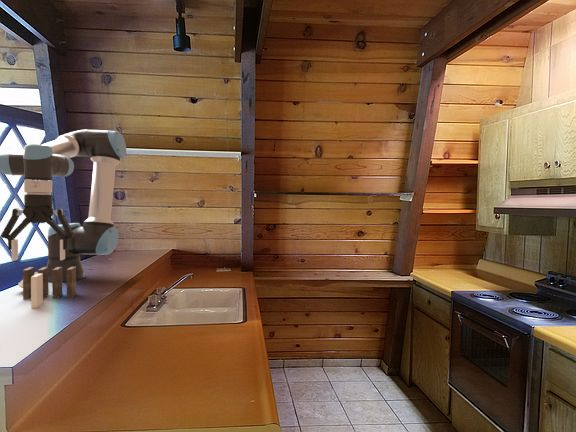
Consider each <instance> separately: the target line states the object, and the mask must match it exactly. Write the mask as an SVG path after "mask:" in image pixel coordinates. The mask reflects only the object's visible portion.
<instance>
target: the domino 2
mask: <svg viewBox="0 0 576 432" xmlns="http://www.w3.org/2000/svg"><path fill="white" fill-rule="evenodd" d="M42 303H43V304H44V298H43V273H40V274H35V275H34V276H32V277H31V298H30V308H32V309H34V308H35V309H36V308H39V307H40V306H42V305H43V304H42Z"/></svg>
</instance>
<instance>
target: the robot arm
mask: <svg viewBox="0 0 576 432" xmlns="http://www.w3.org/2000/svg"><path fill="white" fill-rule="evenodd" d="M126 155H127V143H126V141H125V137H124V136H123V134H122V133H121V132H119V131H117V130H109V129H108V130H107V129H104V130H103V129H101V130H100V129H80V130H75V131H70V132H68V133H64V134H62V135H59V136H58V137H57V138H56V139H55V140H52V141H48V142H45V143H43V144H32V143H30V144H26V145H24V149H23V150H21V151H17V152H10V151H9V152H2V153H0V172H1V174H3V175H12V176H24V177H23V179H24V180H23V182H24V183H23V184H24V185H23V186H24V187H23V188H24V189H23V190H24V193H25V194H24V195H23V196H24V198H23V199H24V203H23V205H24V208H23V209H22V208H18V207H17V208H13V209H12V212H11V217H10V218H9V219H8V222H7V224H6V226H5V227H4V229H3V230H2V233H1V234H0V237H1V238H2V239H6V240H7V249H8V250H9V251H11V261H12V262H14V261H17V260H19V239H18V238H17V236H19V234H20V233H21V232H22V231H23V230H24V229H25V228H26V227H27V226H28V225H29V224H30V223H32V224H37V223H38V224H45V223H46V224H48V225H49V228H48V229H47V230H48V231H47V264H46V265H45V267H48V283H52V270H53V269H55V268H56V267H62V283H65V282H66V283H67V269H68V268H70V267H76V281H78V280H82V279H84V278H85V277H86V276H85V275H86V274H85V273H86V272H85V270H84V267H83V264H82V261H81V255H92V256H95V255H97V256H101V255H104V256H105V255H106V256H107V255H110V254H111V253H113V252H114V251H115V249H116V248H117V245H118V242H119V230H118V229H117V228H116V227H115V223H114V222H113V221H112V218H111V217H112V210H113V208H112V207H113V200H114V199H113V197H114V189H115V188H114V186H115V180H116V179H115V176H116V167H117V166H118V165H119V164H120V163H121V159H123V158H125V157H126ZM75 157H89V158H90V160H91V161H92V162H93V168H92V169H93V170H92V179H91V189H90V200H89V209H88V217H87V219H85V220H84V221H83V226H82V225H81V223H79V222H72V223H69V221H68V220H67V218H66V216H65V211H64V209H62V208H60V209H55V210H54V208H53V195H52V193H53V177H58V178H65V177H69V176H70V175H72V174H73V172H74V171H75V163H74V161H73V160H72V159H71V158H75ZM22 214H23V216H25V218H24V219H23V220H22V221H21V223H20V224H19V225H18V226H17V227H16V228H15V229H14V226H15V225H16V223H17V221H18V219H19V217H21V215H22ZM54 214H55V216H56V217H57V219H58V221H59V222H60V224H58V223H56V221H55V220H54V218H53V216H54ZM13 229H14V230H13Z"/></svg>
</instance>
